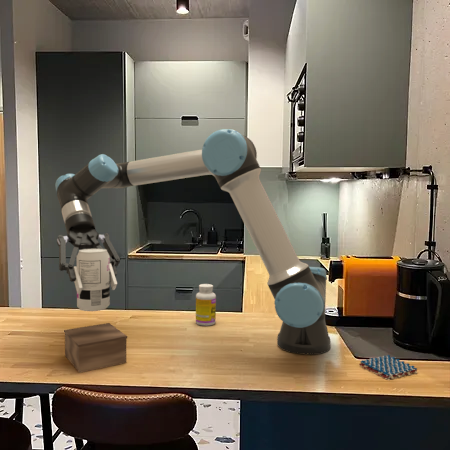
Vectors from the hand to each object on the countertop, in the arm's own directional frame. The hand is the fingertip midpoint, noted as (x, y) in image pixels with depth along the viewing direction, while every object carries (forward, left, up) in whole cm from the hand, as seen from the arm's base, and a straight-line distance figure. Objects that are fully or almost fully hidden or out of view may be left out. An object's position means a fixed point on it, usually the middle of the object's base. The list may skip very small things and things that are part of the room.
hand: (97, 288), depth 116 cm
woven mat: (-42, -60, -20) cm, 76 cm away
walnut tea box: (+3, 0, -19) cm, 20 cm away
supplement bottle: (+15, -41, -20) cm, 48 cm away
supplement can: (+3, 0, -6) cm, 7 cm away
